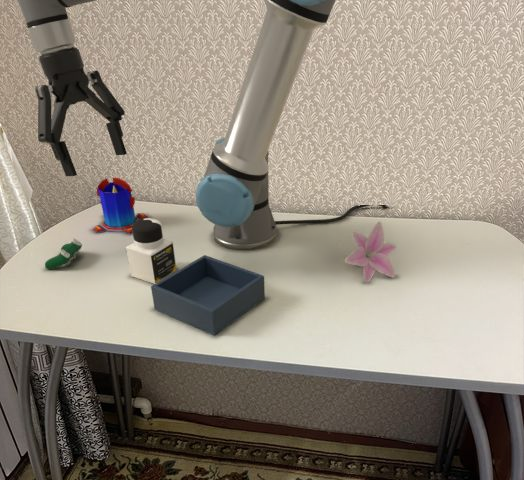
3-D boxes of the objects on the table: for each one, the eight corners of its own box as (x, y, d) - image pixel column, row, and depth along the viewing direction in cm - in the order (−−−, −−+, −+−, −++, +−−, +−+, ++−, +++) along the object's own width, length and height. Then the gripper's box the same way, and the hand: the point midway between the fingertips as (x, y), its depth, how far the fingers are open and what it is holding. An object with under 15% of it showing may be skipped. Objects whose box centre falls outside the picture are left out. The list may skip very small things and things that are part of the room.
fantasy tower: (90, 232, 140) (79, 185, 133) (107, 213, 149) (98, 168, 142) (135, 234, 138) (127, 187, 131) (149, 214, 148) (143, 169, 140)
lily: (333, 285, 119) (352, 258, 111) (335, 242, 125) (352, 213, 116) (385, 298, 121) (407, 272, 113) (384, 255, 127) (405, 228, 119)
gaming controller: (55, 277, 126) (69, 262, 122) (41, 266, 124) (54, 250, 121) (74, 258, 133) (87, 243, 129) (61, 247, 132) (74, 232, 128)
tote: (206, 276, 121) (204, 254, 118) (264, 298, 113) (264, 275, 110) (154, 309, 111) (150, 286, 108) (214, 335, 103) (212, 311, 100)
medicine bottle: (155, 285, 118) (147, 232, 111) (130, 276, 122) (121, 225, 114) (177, 270, 123) (170, 219, 116) (152, 262, 126) (144, 212, 119)
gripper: (95, 41, 114) (129, 147, 125) (-12, 66, 99) (37, 185, 110) (119, 35, 110) (152, 145, 121) (11, 60, 94) (59, 185, 105)
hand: (97, 164), depth 115 cm, fingers open, 13 cm apart
